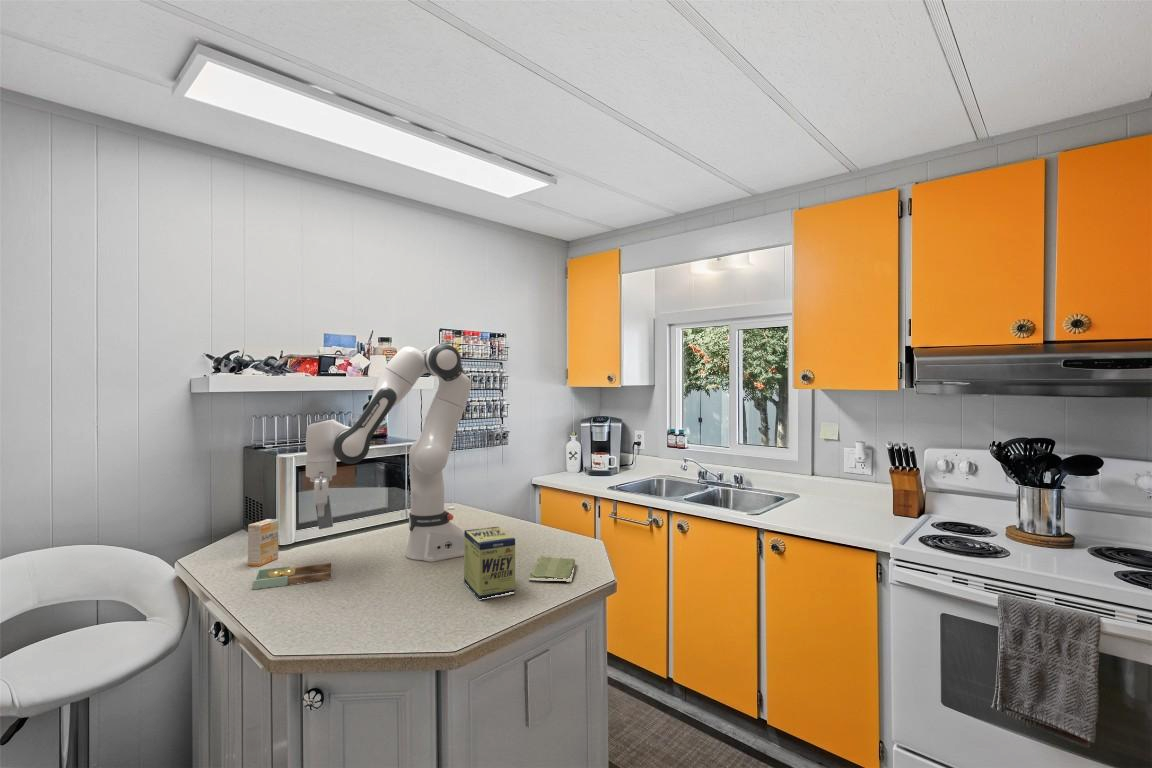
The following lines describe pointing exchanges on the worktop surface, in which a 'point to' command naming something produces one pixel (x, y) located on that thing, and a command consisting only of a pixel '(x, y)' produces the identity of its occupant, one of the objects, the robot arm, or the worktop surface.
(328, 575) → the slot rails
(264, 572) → the chip tray
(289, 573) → the puck
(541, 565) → the washcloth
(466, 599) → the worktop surface
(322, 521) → the rake block
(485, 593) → the protein box
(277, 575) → the puck
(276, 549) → the supplement box
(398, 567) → the worktop surface
